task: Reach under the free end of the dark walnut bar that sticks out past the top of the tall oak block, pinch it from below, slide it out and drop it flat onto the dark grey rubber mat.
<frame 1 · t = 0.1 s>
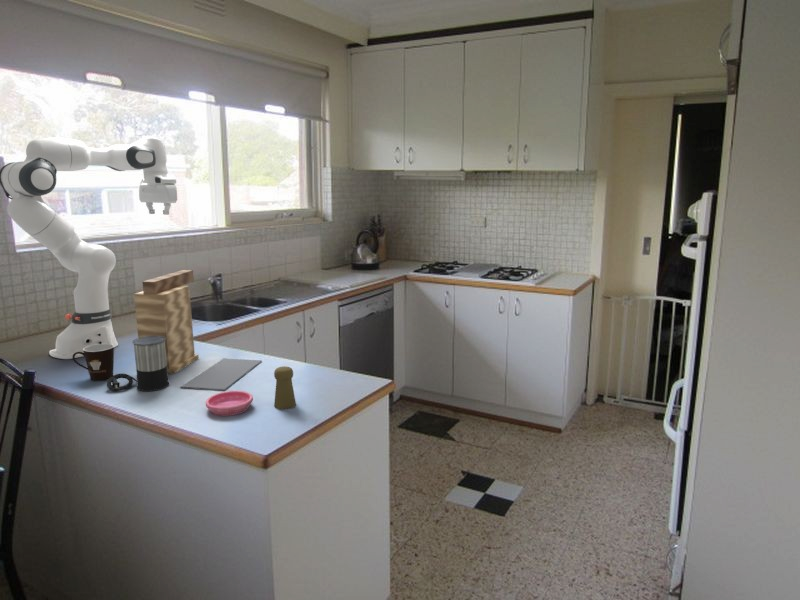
hand: (159, 214, 228), 48 cm above the counter, tool pointing down, fingers open, 8 cm apart
cork: (285, 405, 159), on the counter
rubber mat: (224, 374, 184), on the counter
oak block: (169, 364, 193), on the counter
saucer: (230, 409, 156), on the counter
walnut bar: (170, 287, 192), point 26 cm above the counter, touching oak block
milk frother: (139, 388, 172), on the counter
coffee mug: (98, 377, 181), on the counter
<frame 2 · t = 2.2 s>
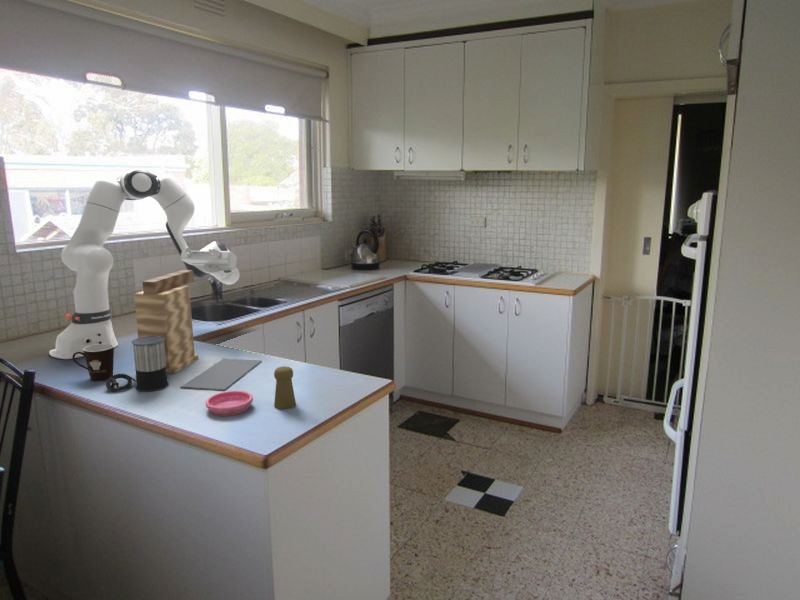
hand: (198, 249, 210), 36 cm above the counter, tool pointing upward, fingers open, 8 cm apart
nothing on the counter moved.
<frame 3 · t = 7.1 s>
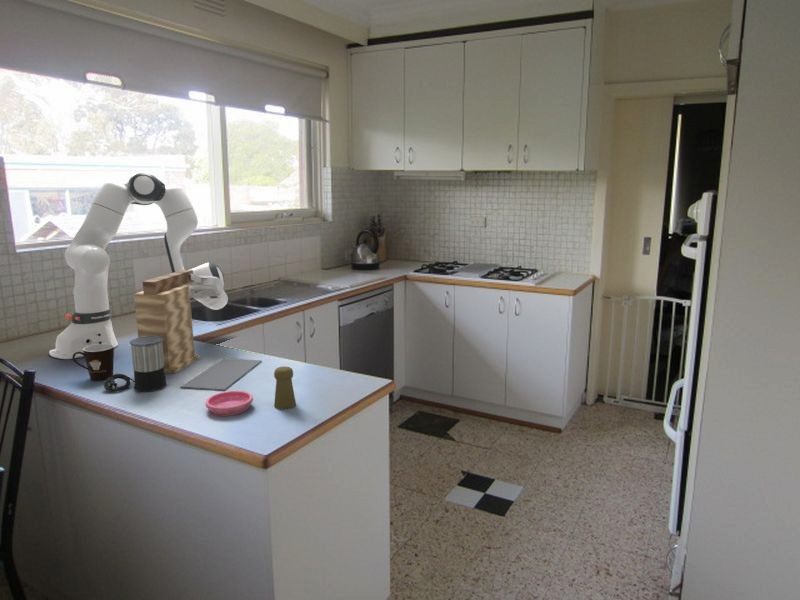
hand: (183, 275, 200), 28 cm above the counter, tool pointing upward, fingers closed on walnut bar, 4 cm apart
walnut bar: (170, 287, 192), point 26 cm above the counter, touching gripper, oak block
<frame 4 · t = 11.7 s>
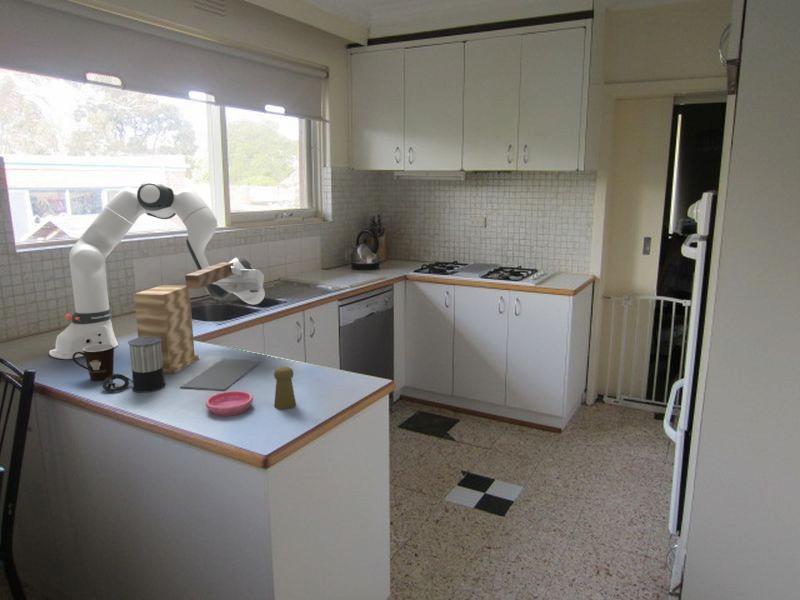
hand: (223, 268, 189), 33 cm above the counter, tool pointing upward, fingers closed on walnut bar, 4 cm apart
walnut bar: (211, 280, 181), point 30 cm above the counter, touching gripper
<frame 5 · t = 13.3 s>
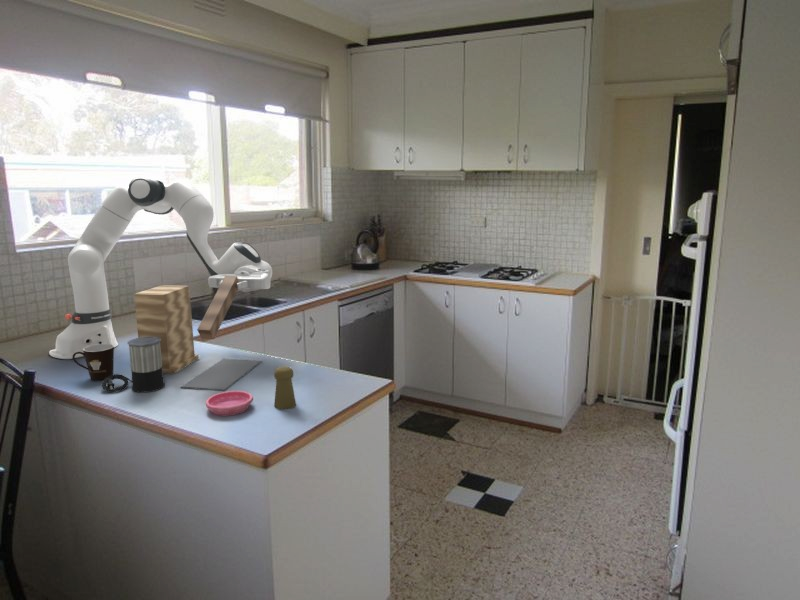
hand: (229, 285, 185), 28 cm above the counter, tool horizontal, fingers closed on walnut bar, 4 cm apart
walnut bar: (221, 310, 181), point 21 cm above the counter, tilted 33°, touching gripper
when the fingers open (14 cm above the counter, at t = 16.7 s): walnut bar drops 7 cm, resting on rubber mat.
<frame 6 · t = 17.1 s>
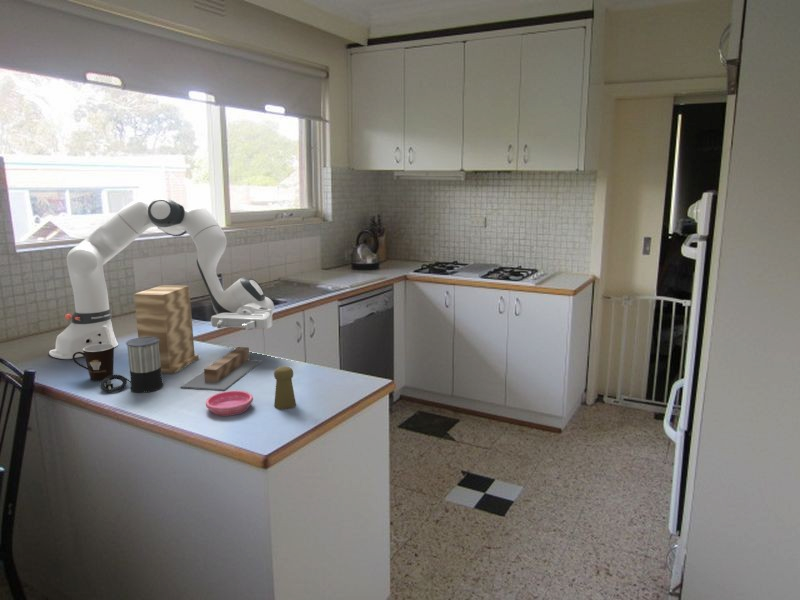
hand: (231, 326, 188), 14 cm above the counter, tool horizontal, fingers open, 8 cm apart
walnut bar: (228, 369, 187), resting on rubber mat
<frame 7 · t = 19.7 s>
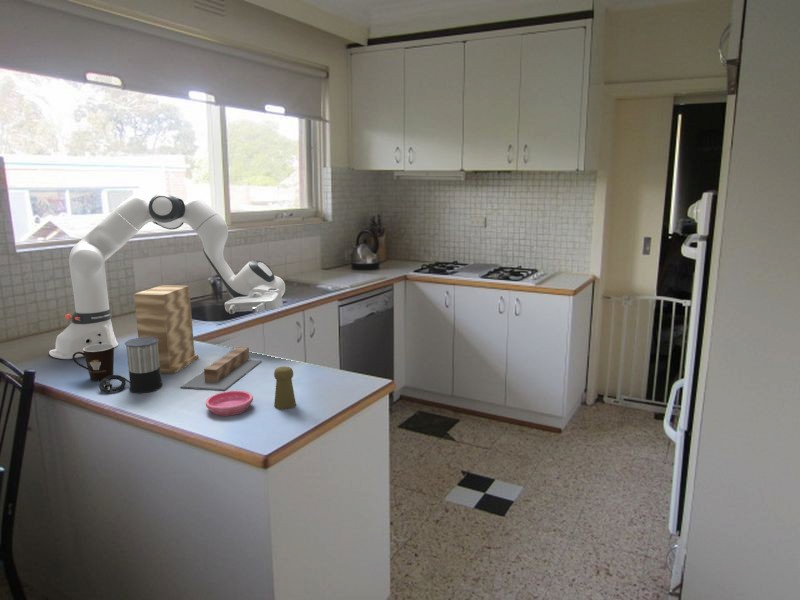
hand: (242, 310, 199), 17 cm above the counter, tool horizontal, fingers open, 8 cm apart
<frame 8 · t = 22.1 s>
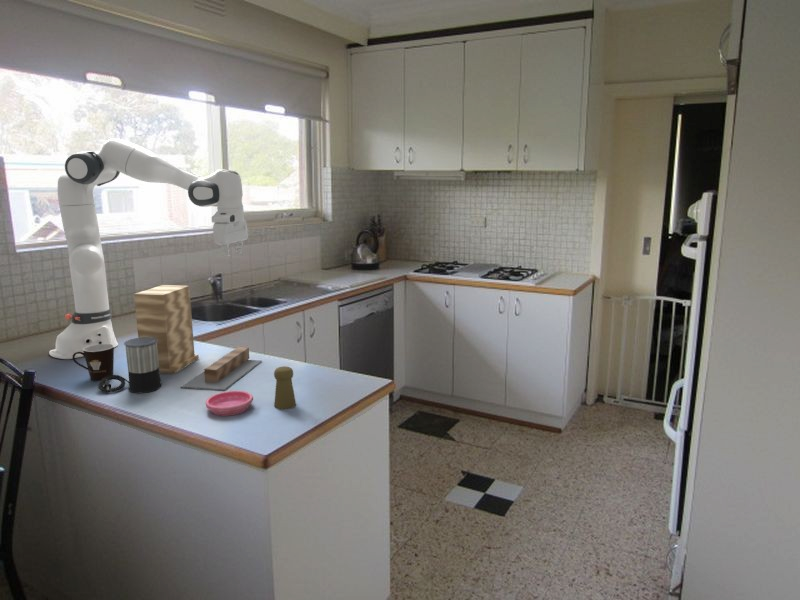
hand: (233, 254, 204), 35 cm above the counter, tool pointing down, fingers open, 8 cm apart
at the end: walnut bar inside the target area on the rubber mat (3.3 cm from its centre), point 0.5 cm above the rubber mat's base; walnut bar touching rubber mat; the gripper is holding nothing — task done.
